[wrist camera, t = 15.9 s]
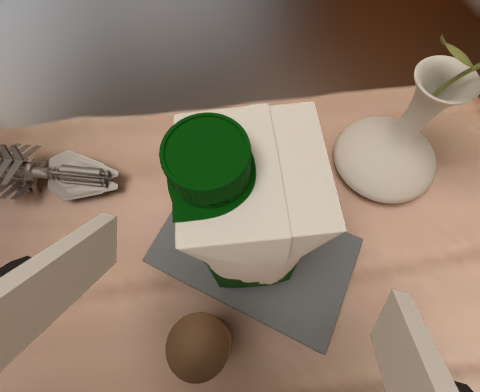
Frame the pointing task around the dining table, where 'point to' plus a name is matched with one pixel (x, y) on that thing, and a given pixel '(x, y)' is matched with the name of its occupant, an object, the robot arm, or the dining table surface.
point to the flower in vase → (405, 133)
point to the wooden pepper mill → (198, 347)
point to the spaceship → (54, 174)
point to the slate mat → (275, 286)
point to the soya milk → (250, 190)
